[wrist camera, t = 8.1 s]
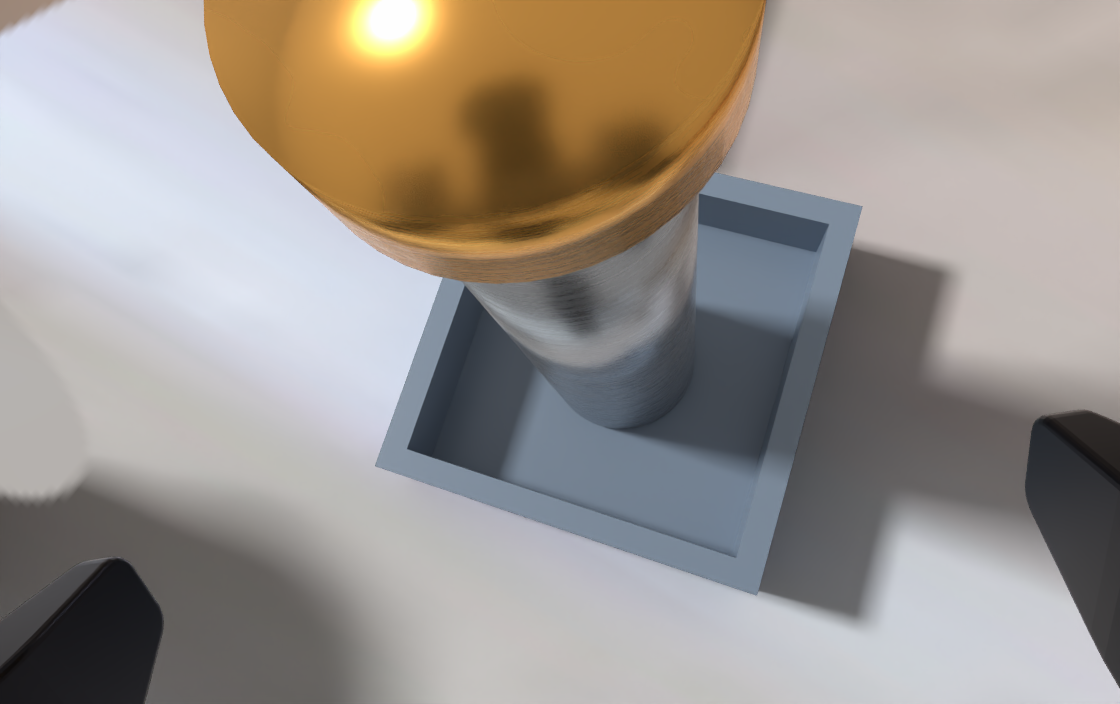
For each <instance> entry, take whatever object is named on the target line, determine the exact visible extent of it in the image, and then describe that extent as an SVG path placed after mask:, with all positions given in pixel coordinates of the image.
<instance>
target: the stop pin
mask: <svg viewBox="0 0 1120 704" xmlns="http://www.w3.org/2000/svg"><path fill="white" fill-rule="evenodd" d="M765 5H766V0H204V26H205V31H206V37H207V43H208V49H209V54H210V58H211V61H212V64H213V67H214V70H215V73H216V76H217V79H218V82H219V85H220V87H221V89H222V91H223V93H224V95H225V96H226V98H227V100H228V102H229V104H230V106H231V108H232V110H233V112H234V114H235V115H236V116H237V118H238V119H239V120H240V122H241V123H242V124H243V126H244V127H245V128H246V130H247V131H248V132H249V134H250V135H251V136H252V138H253V139H254V140H255V141H256V142H257V143H258V144H259V145H260V146H261V147H262V148H263V149H264V150H265V151H266V152H267V153H268V154H269V155H270V156H271V157H272V158H273V159H274V160H275V161H276V162H278V163H279V164H280V165H281V166H282V167H283V168H284V169H285V170H286V171H287V172H288V173H289V174H290V175H292V176H293V177H294V178H295V179H296V180H297V181H298V182H299V183H300V184H301V185H302V186H303V187H304V188H306V189H307V190H308V191H309V192H310V193H311V194H312V195H313V196H314V197H315V198H316V199H317V200H318V201H320V202H321V203H322V204H323V205H324V206H325V207H326V208H327V209H328V210H329V211H330V212H331V213H332V214H334V215H335V216H336V217H337V218H338V219H339V220H340V221H341V222H342V223H343V224H344V225H345V226H346V227H348V228H349V229H350V230H351V231H352V232H353V233H354V234H355V235H356V236H358V237H359V238H361V239H362V240H363V241H365V242H366V243H367V244H369V245H370V246H372V247H373V248H374V249H376V250H377V251H379V252H380V253H382V254H384V255H386V256H388V257H390V258H392V259H394V260H396V261H398V262H400V263H402V264H403V265H406V266H409V267H411V268H414V269H417V270H420V271H423V272H425V273H428V274H431V275H435V276H439V277H444V278H449V279H454V280H459V281H462V282H463V284H464V285H465V286H466V287H467V288H468V289H469V290H470V292H471V293H472V294H473V295H474V296H475V297H476V299H477V300H478V301H479V302H480V303H481V304H482V306H483V307H484V308H485V309H486V310H487V311H488V312H489V314H490V315H491V316H492V317H493V318H494V319H495V321H496V322H497V323H498V324H499V325H500V326H501V328H502V329H503V330H504V331H505V332H506V333H507V334H508V336H509V337H510V338H511V339H512V340H513V341H514V343H515V344H516V345H517V346H518V347H519V348H520V349H521V351H522V352H523V353H524V354H525V355H526V356H527V358H528V359H529V360H530V361H531V362H532V363H533V365H534V366H535V367H536V368H537V369H538V370H539V371H540V373H541V374H542V375H543V376H544V377H545V378H546V380H547V381H548V382H549V383H550V384H551V385H552V387H553V388H554V389H555V390H556V391H557V392H558V393H559V395H560V396H561V397H562V398H563V399H564V400H565V402H566V403H567V404H568V405H569V406H570V407H571V408H572V409H573V410H574V411H575V412H576V413H577V414H579V415H580V416H581V417H583V418H584V419H586V420H588V421H590V422H592V423H594V424H597V425H599V426H602V427H607V428H612V429H632V428H638V427H642V426H645V425H648V424H650V423H653V422H655V421H657V420H658V419H660V418H662V417H663V416H665V415H666V414H667V413H669V412H670V411H671V410H672V409H673V408H674V407H675V406H676V405H677V404H678V403H679V401H680V400H681V399H682V397H683V396H684V394H685V392H686V390H687V389H688V386H689V384H690V381H691V378H692V374H693V370H694V356H695V318H696V280H697V242H698V204H699V192H700V191H701V190H702V189H703V188H704V186H705V185H706V184H707V182H708V181H709V180H710V178H711V177H712V176H713V174H714V173H715V172H716V170H717V169H718V168H719V166H720V165H721V164H722V162H723V160H724V158H725V156H726V155H727V153H728V151H729V149H730V148H731V146H732V144H733V142H734V140H735V139H736V137H737V135H738V132H739V130H740V127H741V124H742V122H743V119H744V117H745V114H746V112H747V109H748V106H749V102H750V98H751V94H752V89H753V85H754V81H755V76H756V69H757V61H758V54H759V47H760V40H761V33H762V26H763V19H764V12H765Z"/></svg>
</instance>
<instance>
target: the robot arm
mask: <svg viewBox="0 0 1120 704" xmlns="http://www.w3.org/2000/svg"><path fill="white" fill-rule="evenodd" d="M1025 491H1026V497H1027V502H1028V505H1029V508H1030V510H1031V512H1032V515H1033V517H1034V519H1035V521H1036V523H1037V525H1038V527H1039V529H1040V531H1041V533H1042V535H1043V538H1044V540H1045V542H1046V544H1047V546H1048V548H1049V550H1050V552H1051V554H1052V556H1053V558H1054V560H1055V563H1056V565H1057V567H1058V569H1059V571H1060V573H1061V575H1062V577H1063V579H1064V581H1065V583H1066V585H1067V588H1068V590H1069V592H1070V594H1071V596H1072V598H1073V600H1074V602H1075V604H1076V606H1077V608H1078V610H1079V613H1080V615H1081V617H1082V619H1083V621H1084V623H1085V625H1086V627H1087V629H1088V631H1089V633H1090V635H1091V637H1092V639H1093V641H1094V643H1095V645H1096V647H1097V649H1098V651H1099V653H1100V655H1101V657H1102V659H1103V661H1104V662H1105V664H1106V666H1107V668H1108V669H1109V671H1110V673H1111V674H1112V676H1113V678H1114V679H1115V681H1116V683H1117V685H1118V686H1119V688H1120V423H1118V422H1116V421H1113V420H1111V419H1109V418H1106V417H1104V416H1102V415H1099V414H1097V413H1094V412H1092V411H1089V410H1074V411H1067V412H1061V413H1054V414H1048V415H1043V416H1041V417H1039V418H1038V419H1037V420H1036V421H1035V423H1034V425H1033V428H1032V431H1031V439H1030V447H1029V456H1028V464H1027V472H1026V480H1025ZM163 624H164V621H163V614H162V611H161V608H160V606H159V604H158V603H157V601H156V600H155V598H154V597H153V595H152V594H151V592H150V591H149V590H148V588H147V587H146V585H145V584H144V582H143V581H142V579H141V578H140V576H139V575H138V573H137V572H136V570H135V569H134V567H133V566H132V565H131V563H130V562H129V561H127V560H125V559H124V558H122V557H116V556H114V557H107V558H100V559H93V560H88V561H84V562H81V563H79V564H77V565H75V566H74V567H72V568H71V569H70V570H68V571H67V572H66V573H64V574H63V575H62V576H60V577H59V578H57V579H56V580H55V581H53V582H52V583H51V584H49V585H48V586H47V587H45V588H44V589H43V590H41V591H40V592H38V593H37V594H36V595H34V596H33V597H32V598H30V599H29V600H28V601H26V602H25V603H24V604H22V605H21V606H19V607H18V608H17V609H15V610H14V611H13V612H11V613H10V614H9V615H7V616H6V617H5V618H3V619H2V620H0V704H145V700H146V696H147V692H148V688H149V685H150V681H151V677H152V673H153V669H154V665H155V661H156V657H157V653H158V649H159V645H160V642H161V638H162V634H163Z"/></svg>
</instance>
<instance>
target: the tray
mask: <svg viewBox="0 0 1120 704" xmlns="http://www.w3.org/2000/svg"><path fill="white" fill-rule="evenodd" d="M861 210H862V206H859V205H854V204H850V203H845V202H841V201H837V200H832V199H828V198H824V197H819V196H815V195H811V194H806V193H802V192H798V191H793V190H789V189H784V188H780V187H776V186H771V185H767V184H763V183H758V182H754V181H750V180H745V179H741V178H736V177H732V176H728V175H723V174H719V173H714V174H713V176H712V177H711V178H710V180H709V181H708V182H707V184H706V185H705V186H704V188H703V189H702V190H701V191H700V192H699V204H698V242H697V280H696V318H695V356H694V370H693V374H692V378H691V381H690V384H689V386H688V389H687V390H686V392H685V394H684V396H683V397H682V399H681V400H680V401H679V403H678V404H677V405H676V406H675V407H674V408H673V409H672V410H671V411H670V412H669V413H667V414H666V415H665V416H663V417H662V418H660V419H658V420H657V421H655V422H653V423H650V424H648V425H645V426H642V427H638V428H632V429H612V428H607V427H602V426H599V425H597V424H594V423H592V422H590V421H588V420H586V419H584V418H583V417H581V416H580V415H579V414H577V413H576V412H575V411H574V410H573V409H572V408H571V407H570V406H569V405H568V404H567V403H566V402H565V400H564V399H563V398H562V397H561V396H560V395H559V393H558V392H557V391H556V390H555V389H554V388H553V387H552V385H551V384H550V383H549V382H548V381H547V380H546V378H545V377H544V376H543V375H542V374H541V373H540V371H539V370H538V369H537V368H536V367H535V366H534V365H533V363H532V362H531V361H530V360H529V359H528V358H527V356H526V355H525V354H524V353H523V352H522V351H521V349H520V348H519V347H518V346H517V345H516V344H515V343H514V341H513V340H512V339H511V338H510V337H509V336H508V334H507V333H506V332H505V331H504V330H503V329H502V328H501V326H500V325H499V324H498V323H497V322H496V321H495V319H494V318H493V317H492V316H491V315H490V314H489V312H488V311H487V310H486V309H485V308H484V307H483V306H482V304H481V303H480V302H479V301H478V300H477V299H476V297H475V296H474V295H473V294H472V293H471V292H470V290H469V289H468V288H467V287H466V286H465V285H464V284H463V282H462V281H459V280H454V279H449V278H444V277H443V279H442V281H441V284H440V287H439V290H438V292H437V295H436V298H435V301H434V303H433V306H432V309H431V312H430V315H429V317H428V320H427V323H426V326H425V328H424V331H423V334H422V337H421V340H420V342H419V345H418V348H417V351H416V353H415V356H414V359H413V362H412V365H411V367H410V370H409V373H408V376H407V378H406V381H405V384H404V387H403V390H402V392H401V395H400V398H399V401H398V403H397V406H396V409H395V412H394V415H393V417H392V420H391V423H390V426H389V428H388V431H387V434H386V437H385V440H384V442H383V445H382V448H381V451H380V453H379V456H378V459H377V462H376V465H375V466H376V467H379V468H382V469H385V470H388V471H391V472H394V473H397V474H400V475H403V476H406V477H409V478H411V479H414V480H417V481H420V482H423V483H426V484H429V485H432V486H435V487H438V488H441V489H444V490H447V491H450V492H453V493H456V494H459V495H462V496H465V497H468V498H470V499H473V500H476V501H479V502H482V503H485V504H488V505H491V506H494V507H497V508H500V509H503V510H506V511H509V512H512V513H515V514H518V515H521V516H524V517H527V518H529V519H532V520H535V521H538V522H541V523H544V524H547V525H550V526H553V527H556V528H559V529H562V530H565V531H568V532H571V533H574V534H577V535H580V536H583V537H585V538H588V539H591V540H594V541H597V542H600V543H603V544H606V545H609V546H612V547H615V548H618V549H621V550H624V551H627V552H630V553H633V554H636V555H639V556H642V557H644V558H647V559H650V560H653V561H656V562H659V563H662V564H665V565H668V566H671V567H674V568H677V569H680V570H683V571H686V572H689V573H692V574H695V575H698V576H701V577H703V578H706V579H709V580H712V581H715V582H718V583H721V584H724V585H727V586H730V587H733V588H736V589H739V590H742V591H745V592H748V593H751V594H754V595H757V594H758V590H759V586H760V583H761V579H762V575H763V572H764V568H765V564H766V561H767V557H768V553H769V549H770V546H771V542H772V538H773V535H774V531H775V527H776V524H777V520H778V516H779V513H780V509H781V505H782V501H783V498H784V494H785V490H786V487H787V483H788V479H789V476H790V472H791V468H792V465H793V461H794V457H795V454H796V450H797V446H798V442H799V439H800V435H801V431H802V428H803V424H804V420H805V417H806V413H807V409H808V406H809V402H810V398H811V394H812V391H813V387H814V383H815V380H816V376H817V372H818V369H819V365H820V361H821V358H822V354H823V350H824V347H825V343H826V339H827V335H828V332H829V328H830V324H831V321H832V317H833V313H834V310H835V306H836V302H837V299H838V295H839V291H840V287H841V284H842V280H843V276H844V273H845V269H846V265H847V262H848V258H849V254H850V251H851V247H852V243H853V240H854V236H855V232H856V228H857V225H858V221H859V217H860V214H861Z"/></svg>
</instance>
